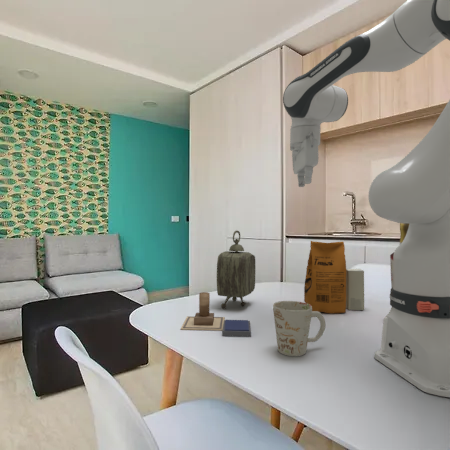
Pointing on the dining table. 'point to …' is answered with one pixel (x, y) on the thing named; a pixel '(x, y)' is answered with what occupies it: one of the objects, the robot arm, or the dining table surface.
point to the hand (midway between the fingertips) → (304, 185)
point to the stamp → (204, 311)
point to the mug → (295, 326)
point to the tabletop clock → (235, 273)
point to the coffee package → (326, 278)
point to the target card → (190, 325)
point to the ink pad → (236, 328)
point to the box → (354, 289)
